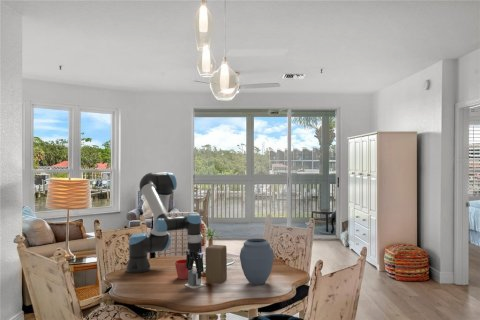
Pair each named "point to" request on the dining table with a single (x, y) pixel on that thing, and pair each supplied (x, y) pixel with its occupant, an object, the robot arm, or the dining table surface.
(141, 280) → the dining table surface
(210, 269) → the wooden block
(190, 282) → the grey rectangular block
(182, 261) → the flower pot
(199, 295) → the dining table surface
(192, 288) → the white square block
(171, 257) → the dining table surface
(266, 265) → the vase
